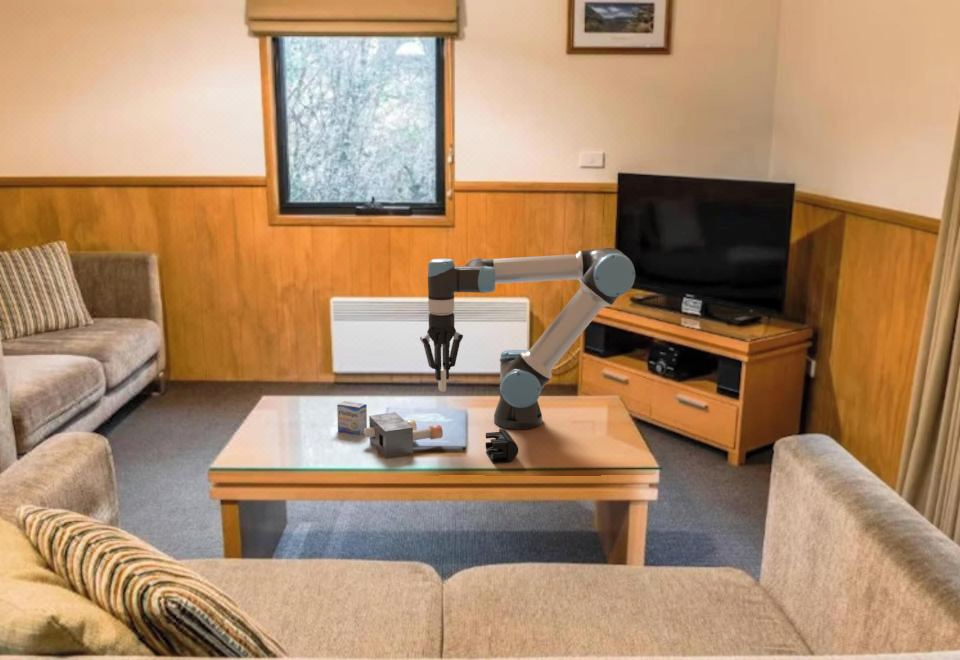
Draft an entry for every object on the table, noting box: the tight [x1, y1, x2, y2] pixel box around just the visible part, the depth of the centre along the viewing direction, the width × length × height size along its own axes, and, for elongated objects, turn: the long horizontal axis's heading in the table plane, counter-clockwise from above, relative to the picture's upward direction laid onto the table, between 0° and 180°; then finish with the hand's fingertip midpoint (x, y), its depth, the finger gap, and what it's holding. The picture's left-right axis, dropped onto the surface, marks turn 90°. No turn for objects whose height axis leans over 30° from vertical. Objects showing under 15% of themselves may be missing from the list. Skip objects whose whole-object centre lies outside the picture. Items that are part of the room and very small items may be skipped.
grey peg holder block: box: [368, 411, 414, 459], centre depth 246 cm, size 8×14×8 cm, turn 25°
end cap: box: [485, 428, 519, 465], centre depth 240 cm, size 10×7×7 cm
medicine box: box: [336, 400, 368, 436], centre depth 259 cm, size 8×4×9 cm, turn 68°
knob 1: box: [363, 419, 418, 439], centre depth 250 cm, size 15×4×4 cm, turn 115°
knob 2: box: [413, 424, 444, 441], centre depth 245 cm, size 15×4×4 cm, turn 115°
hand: (442, 390), depth 254 cm, fingers closed
